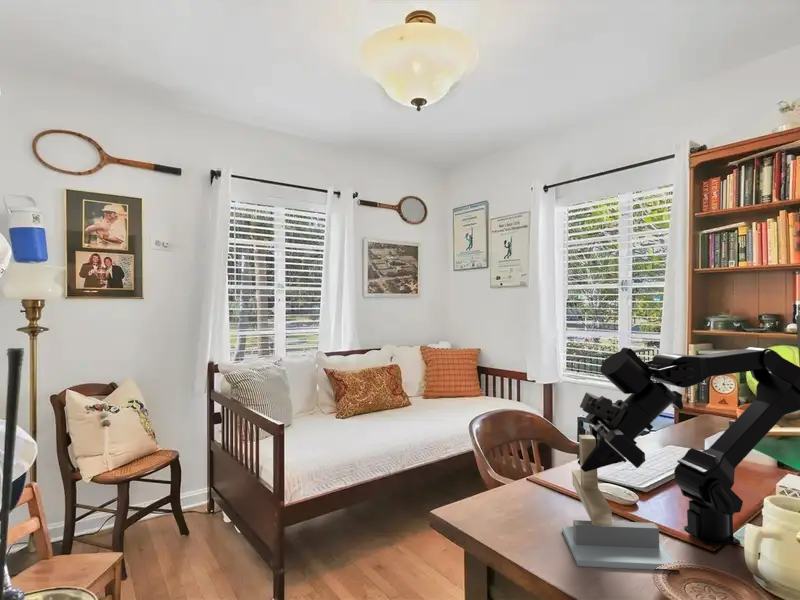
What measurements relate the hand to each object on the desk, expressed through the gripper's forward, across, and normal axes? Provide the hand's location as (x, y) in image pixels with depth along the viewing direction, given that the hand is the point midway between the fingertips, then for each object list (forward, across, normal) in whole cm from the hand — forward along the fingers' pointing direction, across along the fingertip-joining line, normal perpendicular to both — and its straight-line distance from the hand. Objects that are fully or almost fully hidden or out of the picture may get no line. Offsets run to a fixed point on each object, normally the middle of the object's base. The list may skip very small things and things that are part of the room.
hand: (581, 467), depth 87 cm
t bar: (+4, 0, +6) cm, 7 cm away
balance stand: (+6, +4, +12) cm, 14 cm away
